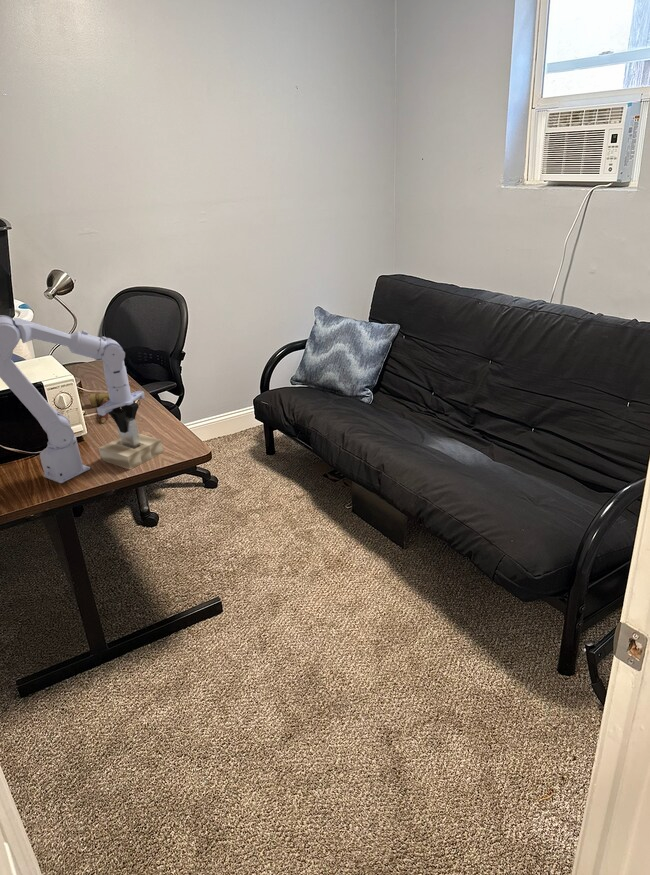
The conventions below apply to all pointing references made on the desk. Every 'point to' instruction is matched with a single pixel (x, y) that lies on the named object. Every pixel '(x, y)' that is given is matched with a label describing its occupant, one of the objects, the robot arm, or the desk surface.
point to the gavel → (100, 403)
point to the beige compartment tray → (131, 452)
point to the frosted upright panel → (130, 434)
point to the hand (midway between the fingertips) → (127, 430)
